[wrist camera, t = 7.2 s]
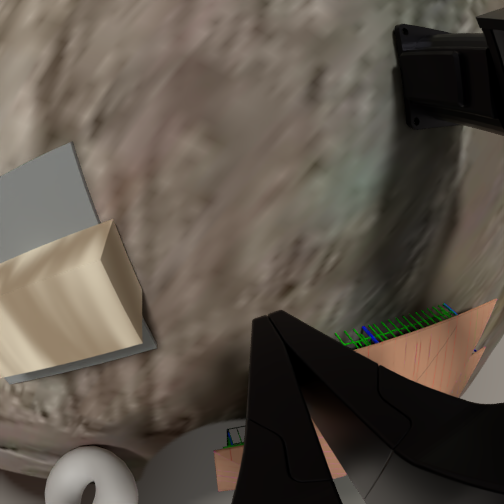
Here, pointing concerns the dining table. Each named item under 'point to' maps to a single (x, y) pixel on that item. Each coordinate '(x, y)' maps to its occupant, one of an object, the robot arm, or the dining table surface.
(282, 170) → the dining table surface
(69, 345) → the birch block
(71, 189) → the slate mat
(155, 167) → the dining table surface
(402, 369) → the house
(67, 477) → the donut
